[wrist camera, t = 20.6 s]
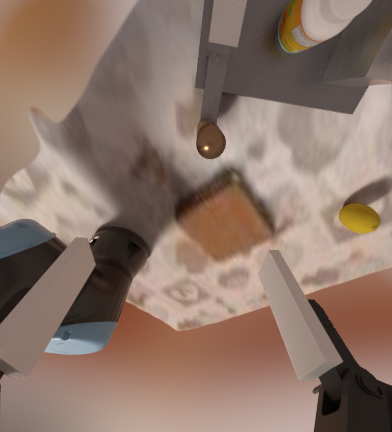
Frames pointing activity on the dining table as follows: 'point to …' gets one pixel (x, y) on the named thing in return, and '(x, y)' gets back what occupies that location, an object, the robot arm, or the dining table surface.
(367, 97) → the dining table surface
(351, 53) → the grey frame
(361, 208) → the lemon
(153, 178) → the dining table surface
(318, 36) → the supplement bottle
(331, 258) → the dining table surface
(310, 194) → the dining table surface
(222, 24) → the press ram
